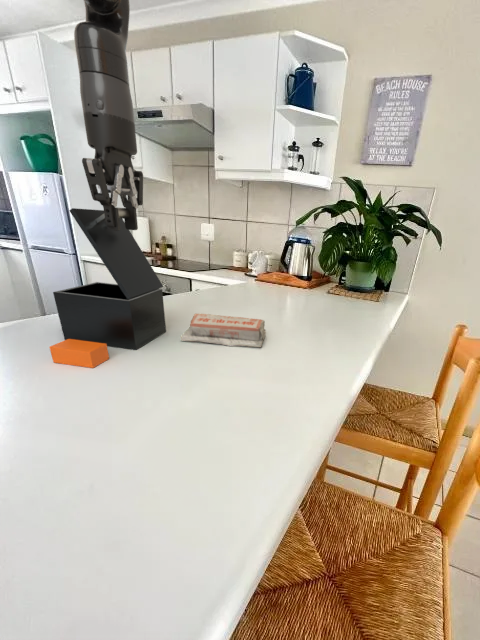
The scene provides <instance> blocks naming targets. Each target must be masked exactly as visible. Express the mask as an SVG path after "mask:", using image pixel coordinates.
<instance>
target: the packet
mask: <svg viewBox="0 0 480 640" xmlns="http://www.w3.org/2000/svg"><path fill="white" fill-rule="evenodd" d="M49 351H50V354H51V358H52V359H51V360H52V362H53V363H54V364H61V365H69V366H74V367H75V366H76V367H83V368H90V369H94V368H96V367H98V366H99V365H101V364H103V363H104V362H106V361H108V360H110V354H109V349H108V346H107V344H105V343H98V342H90V341H82V340H75V339H67V340H65V339H64V340H61V341H60V342H57V343H55V344H53V345H50V346H49Z"/></svg>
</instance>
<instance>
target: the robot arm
mask: <svg viewBox="0 0 480 640" xmlns="http://www.w3.org/2000/svg"><path fill="white" fill-rule="evenodd" d="M83 3H84V7H85V21H80V22H79V23H77V24H76V25H75V27H74V31H73V39H74V48H75V53H76V61H77V67H78V74H79V92H80V93H79V94H80V101H81V106H82V108H81V109H82V114H83V121H84V127H85V133H86V142H87V145H88V146H89V147H90V148H91V149H93V150H94V158H92V157H83V158H82V159H81V163H82V167H83V171H84V173H85V178H86V181H87V184H88V187H89V191H90V194H91V198H92V200H93V201H95V202H98V203H99V204H100V205H101V206H102V208H103V210H104V215H105V222H106V226H107V229H108V230H114V231H119V230H120V221H119V213H118V208H119V207H118V208H115V207H117V206H118V200H119V199H118V197H120V200H121V203H122V206H123V208H126V209H127V210H128V211H129V214H130V215H129V218H127V219H123V221H124V222H125V227H126V229H128V230H129V231H138V228H139V226H138V215H137V209H138V208H139V206H143V204H144V172H143V171H142V170H136V169H134V165H133V162H132V156H136V155H137V154H138V145H137V135H136V123H135V112H134V104H133V99H132V93H131V88H130V77H129V65H128V59H127V46H128V41H129V40H128V39H129V27H130V13H131V12H130V9H131V8H130V6H131V5H130V0H83ZM98 189H99V190H98ZM99 191H100V192H99Z"/></svg>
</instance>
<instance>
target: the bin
mask: <svg viewBox="0 0 480 640" xmlns="http://www.w3.org/2000/svg"><path fill="white" fill-rule="evenodd" d="M52 293H53V298H54V302H55V305H56V306H55V307H56V310H57V314H58V319H59V322H60V326H61V331H62V335H63V338H64V340H67V339H75V340H82V341H90V342H98V343H105V344H107V347H110V348H111V347H112V348H118V349H127V350H133V351H137V350H139V349H140V348H142V347H143V346H145V345H147V344H149V343H151V342H152V341H154V340H156V339H158V338H159V337H160V336H162V335H163V334H165V333H166V332H167V324H166V315H165V305H164V303H165V302H164V294H163V293H164V292H163V289H162V288H160V289H157V290H154V291H151V292H148V293H145V294H142V295H139V296H136V297H134V298H131V299H127V298H126V296H125V295H124V293H123V292H122V290H121V289H120V287H119V286H118V284H117V283H109V282H100V281H95V282H91V283H87V284H83V285H77V286H73V287H70V288H69V287H68V288H65V289H60V290H55V291H53V292H52Z"/></svg>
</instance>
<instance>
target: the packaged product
mask: <svg viewBox="0 0 480 640" xmlns="http://www.w3.org/2000/svg"><path fill="white" fill-rule="evenodd" d="M265 326H266V325H265V320H264V319H259V318H249V317H241V316H229V315H221V314H209V313H194V314H193V315H192V318H191V320H190V323H189V327H188V328H187V329H186V330H185V331H184V332H183V333H182V334H181V335H180V341H181V342H196V343H197V342H198V343H206V344H207V343H208V344H217V345H223V346H228V347H230V346H231V347H232V346H233V347H235V346H237V347H249V348H261V347H262V345H263V343H264V341H265V337H266V333H267V331H266V329H265Z"/></svg>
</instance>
